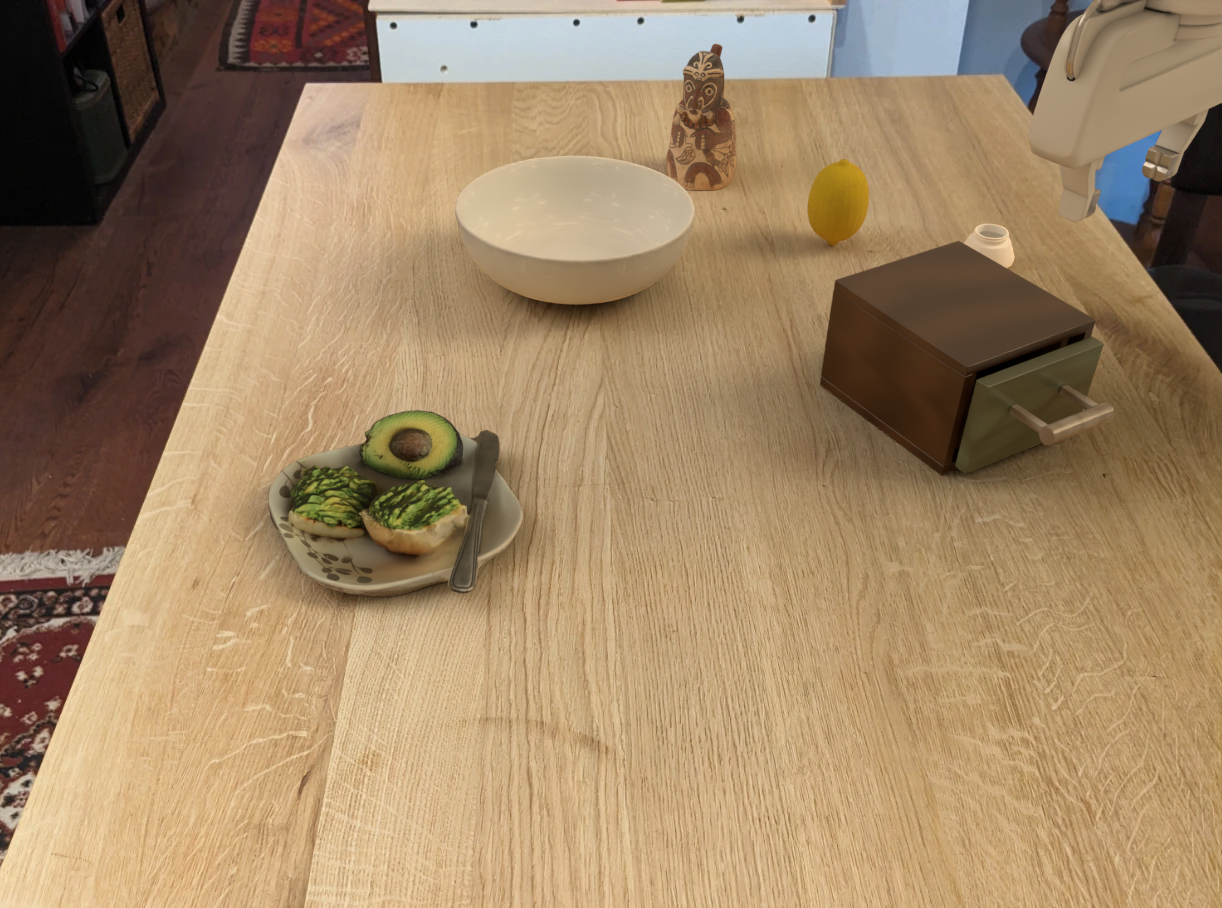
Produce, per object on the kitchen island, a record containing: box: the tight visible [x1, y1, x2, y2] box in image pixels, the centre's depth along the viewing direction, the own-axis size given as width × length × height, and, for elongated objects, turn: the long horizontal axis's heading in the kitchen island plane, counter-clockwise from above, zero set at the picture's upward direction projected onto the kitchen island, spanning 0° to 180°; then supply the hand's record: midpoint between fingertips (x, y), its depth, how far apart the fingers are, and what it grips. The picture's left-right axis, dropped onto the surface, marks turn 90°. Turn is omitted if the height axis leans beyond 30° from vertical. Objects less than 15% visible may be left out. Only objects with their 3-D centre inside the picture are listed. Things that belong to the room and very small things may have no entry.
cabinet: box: [819, 240, 1096, 476], centre depth 98 cm, size 15×13×9 cm
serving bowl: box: [454, 155, 696, 305], centre depth 113 cm, size 21×21×7 cm
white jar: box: [963, 223, 1016, 269], centre depth 117 cm, size 5×3×5 cm
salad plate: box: [267, 409, 524, 598], centre depth 89 cm, size 19×18×5 cm
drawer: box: [955, 336, 1115, 475], centre depth 96 cm, size 18×11×7 cm, turn 31°
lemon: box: [807, 158, 870, 246], centre depth 118 cm, size 6×6×8 cm
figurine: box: [665, 43, 738, 191], centre depth 127 cm, size 7×7×12 cm
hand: (1117, 196), depth 83 cm, fingers open, 8 cm apart
